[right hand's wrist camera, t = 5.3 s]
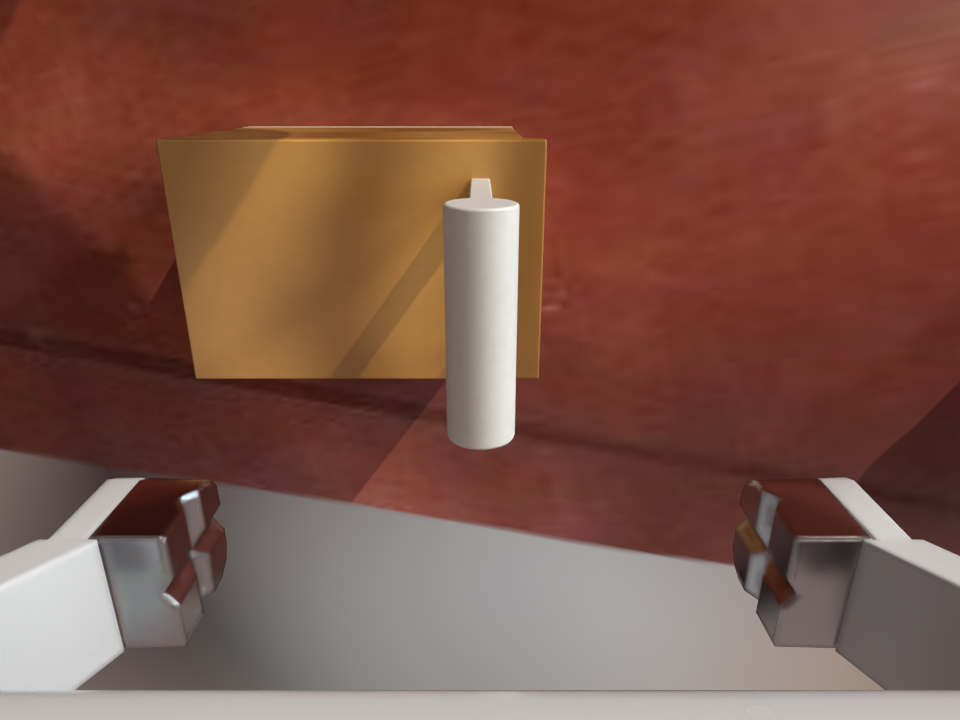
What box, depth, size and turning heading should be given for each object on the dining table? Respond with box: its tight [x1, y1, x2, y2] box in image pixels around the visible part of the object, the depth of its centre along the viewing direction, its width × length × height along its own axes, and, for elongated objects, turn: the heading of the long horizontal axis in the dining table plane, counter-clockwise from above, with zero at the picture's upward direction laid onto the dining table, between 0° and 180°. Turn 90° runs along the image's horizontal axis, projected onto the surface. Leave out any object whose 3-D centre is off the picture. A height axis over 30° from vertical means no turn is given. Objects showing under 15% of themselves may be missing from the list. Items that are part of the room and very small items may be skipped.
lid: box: [156, 138, 547, 450], centre depth 22 cm, size 14×9×9 cm
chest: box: [172, 126, 522, 138], centre depth 31 cm, size 13×9×10 cm
